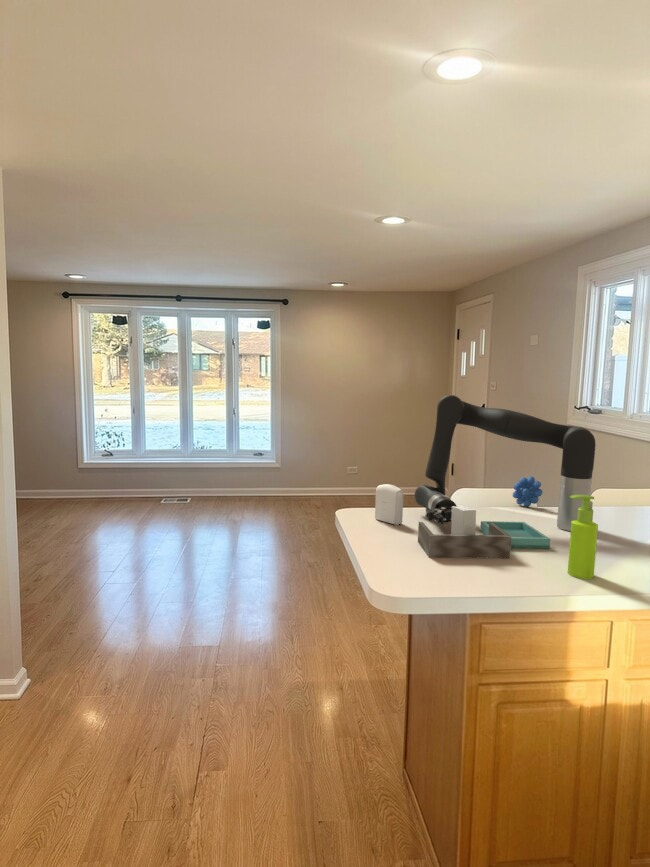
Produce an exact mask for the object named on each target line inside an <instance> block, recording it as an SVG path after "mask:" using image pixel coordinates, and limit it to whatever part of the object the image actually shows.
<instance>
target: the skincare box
mask: <svg viewBox="0 0 650 867" xmlns="http://www.w3.org/2000/svg"><path fill="white" fill-rule="evenodd" d="M476 526H477V510H476V509H474V508H472V507H468V506H466V505H462V504H460V505H456V506H452V521H451V526H450V528H451V529H450V530H451V531H450V535H476V532H477V531H476V528H477V527H476Z"/></svg>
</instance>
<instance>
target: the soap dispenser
mask: <svg viewBox="0 0 650 867" xmlns="http://www.w3.org/2000/svg"><path fill="white" fill-rule="evenodd" d="M569 497H570V498H572V499H574V500H576V499H583V502H582V507H580V508H578V517H577V520H573V521H572V522H571V531H570V538H569V548H568V563H567V564H568V565H567V574H568V575H570V576H572V577H574V578H577V579H583V580H584V579H585V580H590V579H593V578H594V576H595V566H596V565H595V564H596V556H597V555H596V554H597V541H598V528H599V524H598V523H597V522H594V520H593V519H594V509H593V508H592V509H591V508H590V501H591V500H595V496H592V495H573V496H569Z"/></svg>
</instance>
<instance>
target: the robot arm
mask: <svg viewBox="0 0 650 867" xmlns="http://www.w3.org/2000/svg"><path fill="white" fill-rule="evenodd" d="M436 409H437V410H436V420H435V421H436V422H435V429H434V430H435V431H434V435H433V436H434V437H433V441H432V445H431V450H430V453H429V456H428V461H427V464H426V469H425V474H424V475H425V477H426V478H427V479H429V480H431V481H433V482H434V483H435V486H430V485H426V484H421V485H418V487H417V488H416V489H415V490H414V499H415V502H416V503H417V505H419V506H421V507H423V508H425V518H426V519H427V521H429V522H432V521H433V520H434V522H436V523H439V524H440V525H444V523H445V524H446V523H447V524H448V523H450V522H451V523H452V506H457V504H456V503H455V502H454V501H453V500H452V499H451V498H450V497H449V496H447V495H446V476H447V473H448V472H447V471H448V468H449V465H450V464H449V463H450V459H451V458H450V456H451V448H452V442H453V436H454V433H455V430H456V427H457V425H462V426H463V425H464V426H467V427H474V428H477V429H481V430H483V431H485V432H489V433H491V434H494V435H497V436H500V437H503V438H508V439H512V440H515V441H521V442H527V443H540V444H545V445H549V446H553V447H555V448H559V449H562V460H561V466H560V467H561V468H560V480H559V494H558V505H557V507H558V508H557V519H556V527H557V528H558V529H561V530H564V531H568V532H571V522H572V521H573V520H577V517H578V508H580V507H582V502H583V499H576V500H574V499H572V498H570V497H569V496H573V495H590V496H592V494H591V493H592V481H593V473H594V472H593V471H594V466H595V465H594V464H595V457H596V456H595V455H596V438H595V436H594V434H593V433H592V432H591V431H590V430H589V429H587V428H586V427H583V426H575V425H574V426H573V425H567V424H566V425H565V424H559V423H554V422H550V421H547V420H544V419H542V418H540V417H539V418H538V417H536V416H532V415H531V414H526V413H522V412H519V411H514V410H510V409H505V408H504V409H503V408H497V407H495V408H494V407H485V406H484V407H483V406H479V405H475V404H471V403H468V402H466V401H463V400H461V398H459V397H458V396H456V395H454V394H447V395H444V396H443V397H441V399H440V400H438V403H437V406H436ZM593 505H594V504H593V501H592V500H590V508H591V509H593Z"/></svg>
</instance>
